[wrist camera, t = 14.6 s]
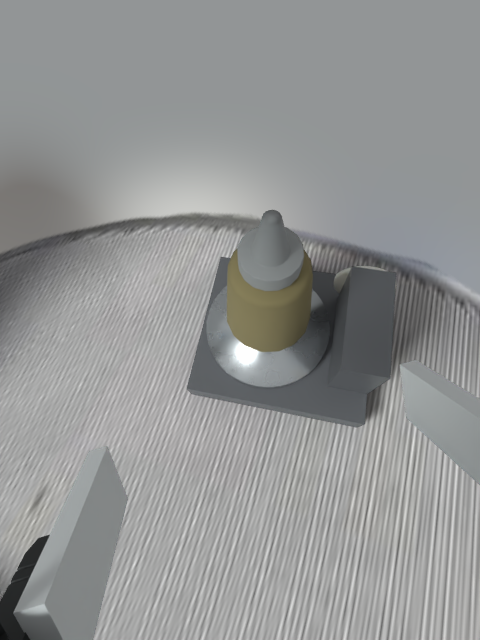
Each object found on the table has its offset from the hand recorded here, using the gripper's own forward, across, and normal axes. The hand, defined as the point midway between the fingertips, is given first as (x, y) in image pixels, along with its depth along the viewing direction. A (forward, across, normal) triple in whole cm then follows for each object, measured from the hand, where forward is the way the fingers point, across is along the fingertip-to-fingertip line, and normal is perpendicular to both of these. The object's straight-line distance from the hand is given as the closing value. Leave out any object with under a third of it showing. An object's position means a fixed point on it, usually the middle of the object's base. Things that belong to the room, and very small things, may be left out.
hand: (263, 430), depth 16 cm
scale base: (+25, +6, -6) cm, 27 cm away
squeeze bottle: (+23, +4, -3) cm, 23 cm away
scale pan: (+23, +4, -3) cm, 24 cm away
